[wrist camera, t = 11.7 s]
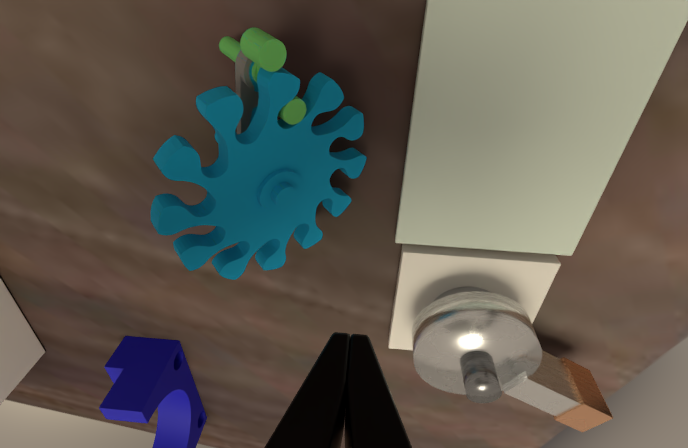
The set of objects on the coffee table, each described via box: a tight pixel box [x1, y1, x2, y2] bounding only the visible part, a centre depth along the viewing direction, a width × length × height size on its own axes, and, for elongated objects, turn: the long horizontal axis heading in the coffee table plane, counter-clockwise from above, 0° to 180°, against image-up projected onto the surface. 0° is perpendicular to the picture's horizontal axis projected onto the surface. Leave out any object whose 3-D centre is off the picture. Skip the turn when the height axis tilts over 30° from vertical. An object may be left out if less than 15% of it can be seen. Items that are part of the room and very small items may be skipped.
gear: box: [151, 27, 367, 280], centre depth 17 cm, size 11×6×10 cm
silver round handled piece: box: [412, 291, 613, 432], centre depth 22 cm, size 13×7×5 cm, turn 60°
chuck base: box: [388, 244, 561, 350], centre depth 24 cm, size 9×9×2 cm
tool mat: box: [395, 0, 688, 256], centre depth 18 cm, size 10×14×1 cm
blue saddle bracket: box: [99, 336, 207, 448], centre depth 32 cm, size 12×4×6 cm, turn 179°
